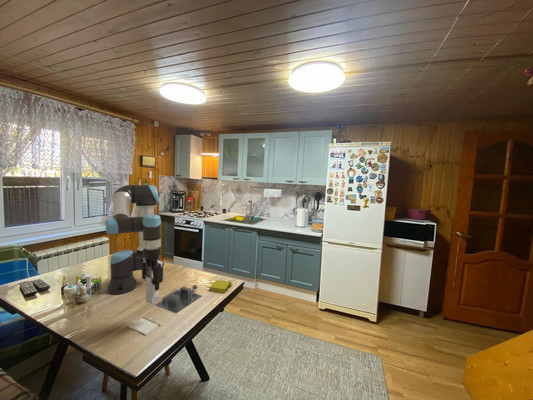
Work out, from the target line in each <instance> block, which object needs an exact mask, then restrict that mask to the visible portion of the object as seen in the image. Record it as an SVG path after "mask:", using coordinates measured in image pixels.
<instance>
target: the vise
mask: <svg viewBox="0 0 533 400" xmlns="http://www.w3.org/2000/svg"><path fill="white" fill-rule="evenodd" d="M197 288H198V286H197V284H194V285H192V287H191V288H190V287H185V286H182V287H180V288H179V289H177V290H175V291H173V292H170V293H168V294H167V295H165V296H163V297H162V299H161V301H159V302H156V303H155V306H156V307H159V308H160V309H164V310H167V311H169V312H171V313H173V314H178V313H179V312H181V311H182V310H184V309H185V308H187V307H188V306H190V305H192V304H193V303H195V302H196V301H197V300H199V299H201V298H202V297H203V295H201V294H198V293H195V292H192V291H193V290H197Z"/></svg>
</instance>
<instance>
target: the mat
mask: <svg viewBox="0 0 533 400" xmlns="http://www.w3.org/2000/svg"><path fill="white" fill-rule="evenodd" d="M161 326H162V324H159V323H157V322H155V321H152V320H150V319H148V318H145V317H142V318H140V319H138V320H136V321H134V322H133V323H131V324H129V325H128V328H129V329H133V330H135V331H137V332H139V333H140V334H142V335H144V336H147V335H149V334H150V333H152V332H153V331H155V330H157V329H158V328H159V327H161Z"/></svg>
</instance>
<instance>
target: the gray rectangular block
mask: <svg viewBox="0 0 533 400" xmlns="http://www.w3.org/2000/svg"><path fill="white" fill-rule="evenodd" d="M164 278H165V273H164V272H163V279H164ZM153 283H154V280H153V273H151V275H149V276H146V281H145V302H146V303H147V304H151V305H153V304H154V303H155V304H156V303H158V301H160V294H159V295H158V296H156V297H154V298H153Z"/></svg>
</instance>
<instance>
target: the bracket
mask: <svg viewBox="0 0 533 400" xmlns="http://www.w3.org/2000/svg"><path fill="white" fill-rule="evenodd" d="M207 284H209V285H210V286H209V292H213V293H220V294H226V290H227V288H232V284H233V283H232V281H231V279H229V280H228V281H227V280H222V279H221V280H220V279H216V280H215V281H207Z"/></svg>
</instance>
